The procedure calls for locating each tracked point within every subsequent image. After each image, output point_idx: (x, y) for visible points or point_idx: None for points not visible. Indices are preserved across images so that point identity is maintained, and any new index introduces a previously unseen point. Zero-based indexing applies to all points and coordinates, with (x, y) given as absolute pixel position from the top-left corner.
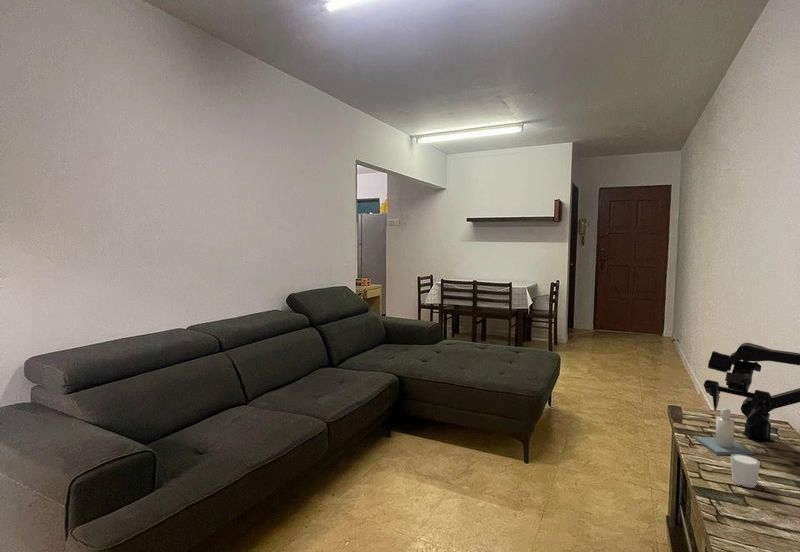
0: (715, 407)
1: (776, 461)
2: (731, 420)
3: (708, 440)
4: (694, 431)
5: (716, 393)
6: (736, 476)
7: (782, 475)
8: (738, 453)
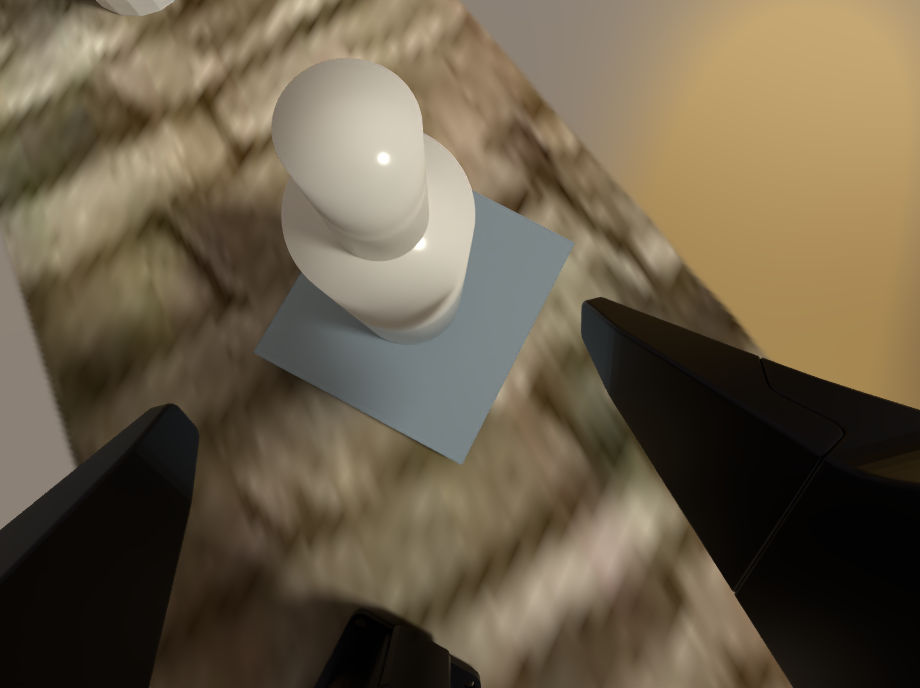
0: (593, 307)
1: (142, 385)
2: (316, 235)
3: (500, 267)
4: None
5: (897, 481)
6: None
7: (51, 217)
8: None
